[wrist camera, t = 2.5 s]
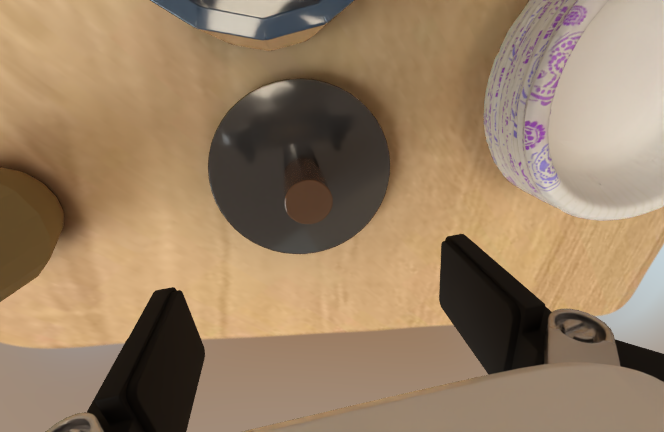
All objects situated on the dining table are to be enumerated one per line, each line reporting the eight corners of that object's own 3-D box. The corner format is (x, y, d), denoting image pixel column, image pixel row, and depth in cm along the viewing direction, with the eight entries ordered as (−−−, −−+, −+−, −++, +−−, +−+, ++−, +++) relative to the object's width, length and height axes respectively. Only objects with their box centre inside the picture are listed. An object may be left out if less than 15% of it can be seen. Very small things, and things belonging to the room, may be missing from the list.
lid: (402, 93, 22) (442, 102, 17) (367, 250, 27) (389, 295, 22) (210, 63, 20) (185, 61, 14) (211, 242, 25) (193, 290, 20)
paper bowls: (426, 46, 21) (500, 36, 14) (641, -96, 20) (847, -188, 13) (492, 215, 28) (565, 266, 21) (658, 119, 26) (798, 138, 19)
